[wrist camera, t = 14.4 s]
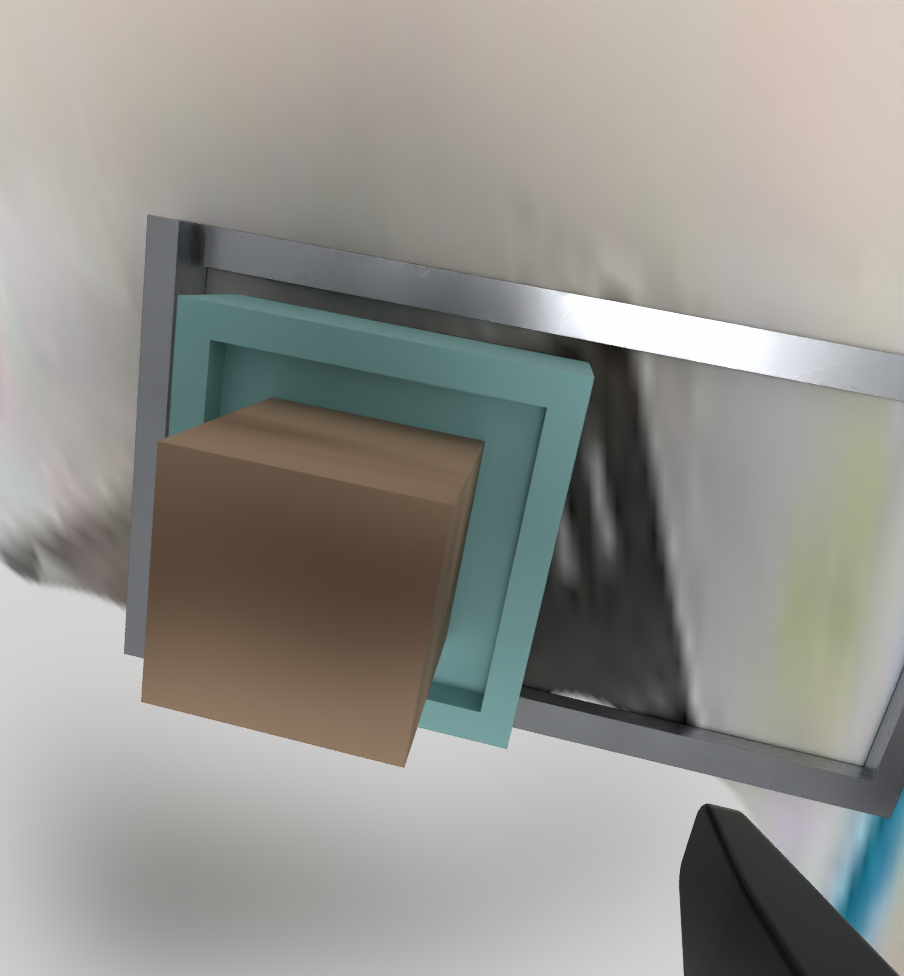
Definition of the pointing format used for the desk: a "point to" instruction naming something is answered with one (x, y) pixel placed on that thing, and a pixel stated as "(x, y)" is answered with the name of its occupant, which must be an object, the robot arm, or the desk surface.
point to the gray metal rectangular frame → (193, 247)
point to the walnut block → (306, 573)
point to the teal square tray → (430, 405)
